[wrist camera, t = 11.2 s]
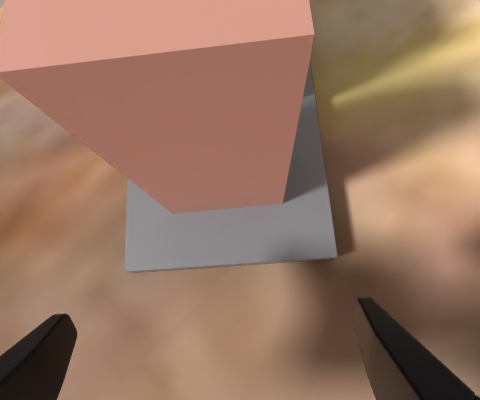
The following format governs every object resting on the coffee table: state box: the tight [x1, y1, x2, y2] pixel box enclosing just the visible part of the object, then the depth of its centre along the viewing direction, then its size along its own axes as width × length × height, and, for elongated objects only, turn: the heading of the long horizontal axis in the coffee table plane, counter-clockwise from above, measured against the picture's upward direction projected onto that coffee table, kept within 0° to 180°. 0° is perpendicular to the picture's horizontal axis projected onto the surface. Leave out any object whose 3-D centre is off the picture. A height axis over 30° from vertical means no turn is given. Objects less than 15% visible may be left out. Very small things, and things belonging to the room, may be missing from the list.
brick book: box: [0, 0, 315, 214], centre depth 13 cm, size 4×6×13 cm, turn 94°
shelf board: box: [124, 62, 337, 273], centre depth 21 cm, size 18×12×2 cm, turn 4°
